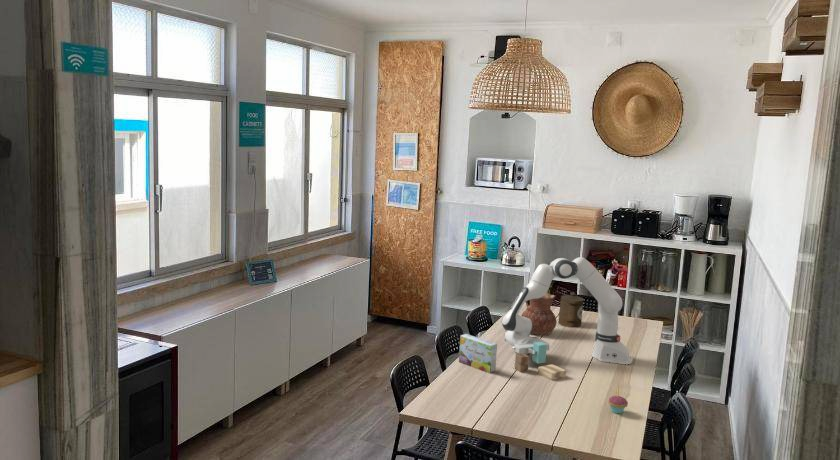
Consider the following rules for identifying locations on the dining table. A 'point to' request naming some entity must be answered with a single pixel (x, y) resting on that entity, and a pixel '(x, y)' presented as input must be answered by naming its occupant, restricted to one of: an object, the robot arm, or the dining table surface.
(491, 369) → the snack box
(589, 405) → the dining table surface
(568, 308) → the wooden container
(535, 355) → the teal block
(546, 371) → the oak base block
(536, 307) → the jug
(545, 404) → the dining table surface
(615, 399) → the cupcake
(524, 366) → the walnut block
